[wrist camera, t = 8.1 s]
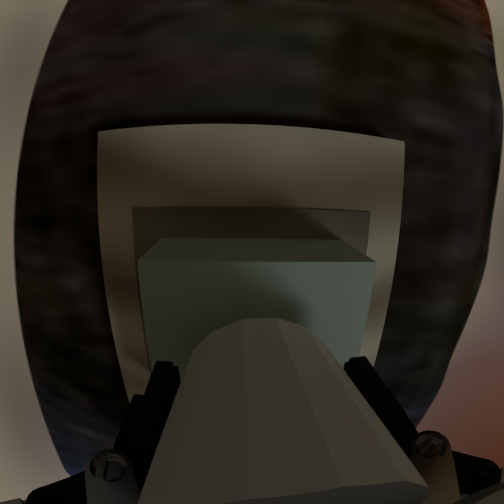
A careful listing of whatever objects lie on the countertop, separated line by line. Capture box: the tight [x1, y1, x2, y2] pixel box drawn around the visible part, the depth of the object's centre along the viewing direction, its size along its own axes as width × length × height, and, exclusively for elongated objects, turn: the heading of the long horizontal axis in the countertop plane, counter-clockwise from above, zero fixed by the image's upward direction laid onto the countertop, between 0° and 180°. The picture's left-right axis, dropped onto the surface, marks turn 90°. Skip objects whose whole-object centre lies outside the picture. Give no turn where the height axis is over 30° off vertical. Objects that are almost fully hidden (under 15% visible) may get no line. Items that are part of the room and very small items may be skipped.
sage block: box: [137, 238, 376, 382], centre depth 14 cm, size 9×9×4 cm
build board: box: [97, 124, 404, 403], centre depth 16 cm, size 18×16×2 cm
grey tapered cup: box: [138, 317, 429, 504], centre depth 7 cm, size 7×7×7 cm
